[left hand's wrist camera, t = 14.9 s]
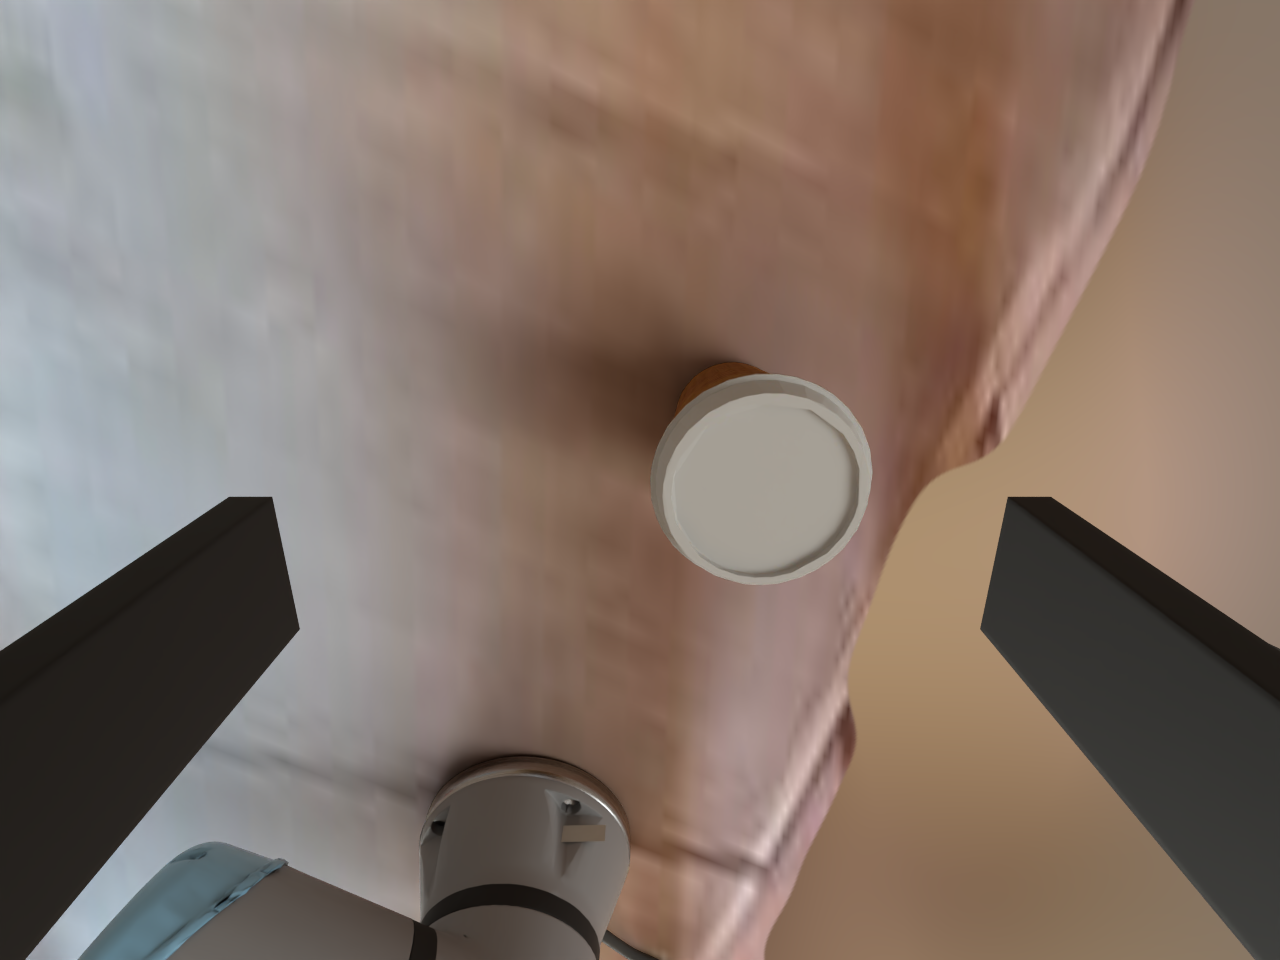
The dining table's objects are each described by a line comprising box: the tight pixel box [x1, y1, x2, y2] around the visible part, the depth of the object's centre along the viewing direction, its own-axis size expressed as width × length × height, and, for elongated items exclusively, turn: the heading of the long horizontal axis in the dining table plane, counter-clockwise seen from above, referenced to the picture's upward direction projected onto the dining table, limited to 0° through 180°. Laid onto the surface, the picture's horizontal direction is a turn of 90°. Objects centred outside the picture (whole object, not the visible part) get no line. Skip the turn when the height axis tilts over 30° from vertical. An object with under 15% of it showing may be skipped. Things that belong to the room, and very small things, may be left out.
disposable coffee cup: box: [650, 362, 872, 585], centre depth 34 cm, size 10×10×12 cm
